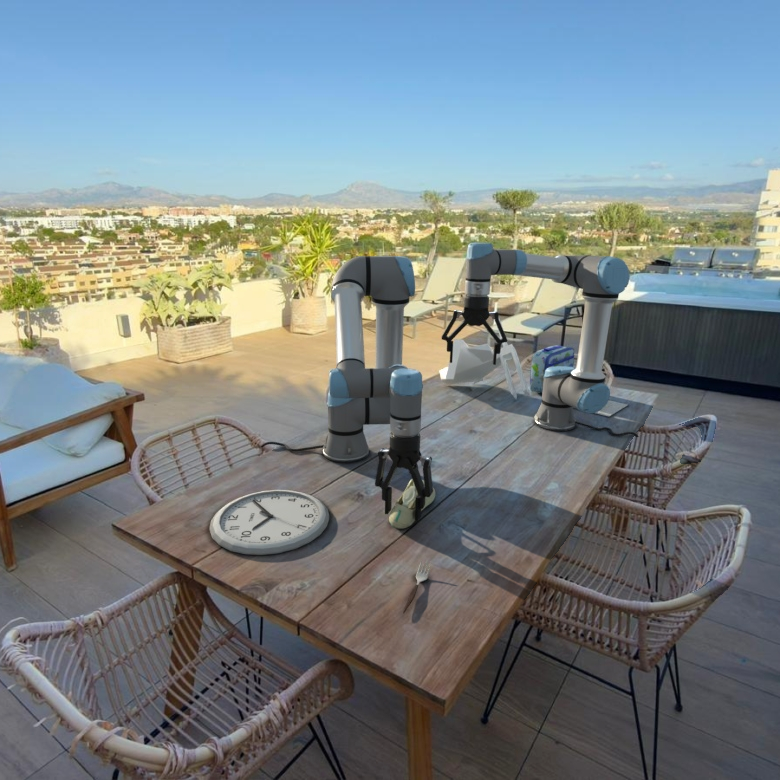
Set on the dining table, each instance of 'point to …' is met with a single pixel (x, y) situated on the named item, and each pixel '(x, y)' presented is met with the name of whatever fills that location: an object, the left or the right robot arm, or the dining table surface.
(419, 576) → the fork
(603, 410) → the invitation card
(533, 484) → the dining table surface
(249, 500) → the wall clock
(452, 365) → the white plastic object
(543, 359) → the lunch box
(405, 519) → the ballet flat
